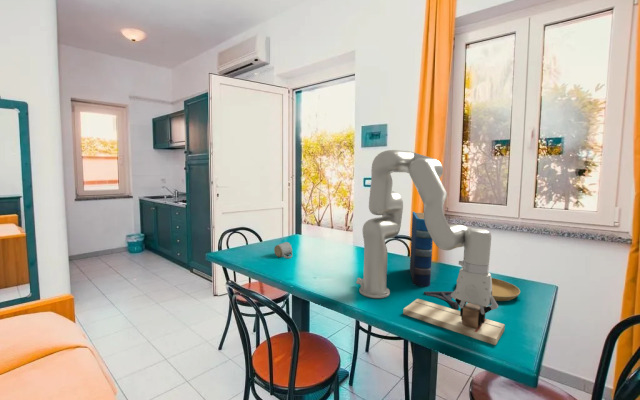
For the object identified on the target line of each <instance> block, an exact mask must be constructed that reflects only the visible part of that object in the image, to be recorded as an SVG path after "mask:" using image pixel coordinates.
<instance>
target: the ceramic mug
mask: <svg viewBox="0 0 640 400" xmlns="http://www.w3.org/2000/svg"><path fill="white" fill-rule="evenodd" d="M273 250H274V251H273V252H274V255H275V256H277V258H284V259H287V260H289V259H292V257H293V248H292V244H291V243H290V242H288V241H285V242H282V243H279V244H277V245H275V246H274V249H273Z"/></svg>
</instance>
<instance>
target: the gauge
mask: <svg viewBox="0 0 640 400" xmlns="http://www.w3.org/2000/svg"><path fill="white" fill-rule="evenodd" d="M479 313H480V306H479V305H475V304H472V303H468V302H466V305H465V306H464V307H463V316H462V324H463V325H467V326H470V327H473V328H476V329H477V327H478V326H479V325H478V318H479Z"/></svg>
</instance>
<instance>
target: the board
mask: <svg viewBox="0 0 640 400" xmlns="http://www.w3.org/2000/svg"><path fill="white" fill-rule="evenodd" d="M402 309H403V311H402V312H403V313H402V314H403V315H404V316H406V317H407V316H408V317H411V318H414V319H415V320H416V319H417V320H420V321H422V322H425V323H428V324H430V325H431V324H432V325H434V326H436V327H440V328H443V329H445V330H448V331H452V332H455V333H458V334H461V335H464V336H467V337H471V338H472V339H475V340H479V341H482V342H485V343H487V344H491V345H493V346H496V345H497V344H498V342H499V340H500V339H501V337H502V335H503V334H504V333H505V328H506V325H505V324H504V323H501V322H498V321H494V320H491V319H488V318H485V322H484V323H482V325H481V326H478V327H477V329H476V328H473V327H470V326H467V325H463V324H462V320H461V316H460V310H459V309H455V308H451V307H447V306H445V305H441V304H437V303H434V302H430V301H427V300H424V299H420V298H416V299H415V300H413V301H412V302H411V303H409V304H408V305H406V306H405V307H404V308H402Z"/></svg>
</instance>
